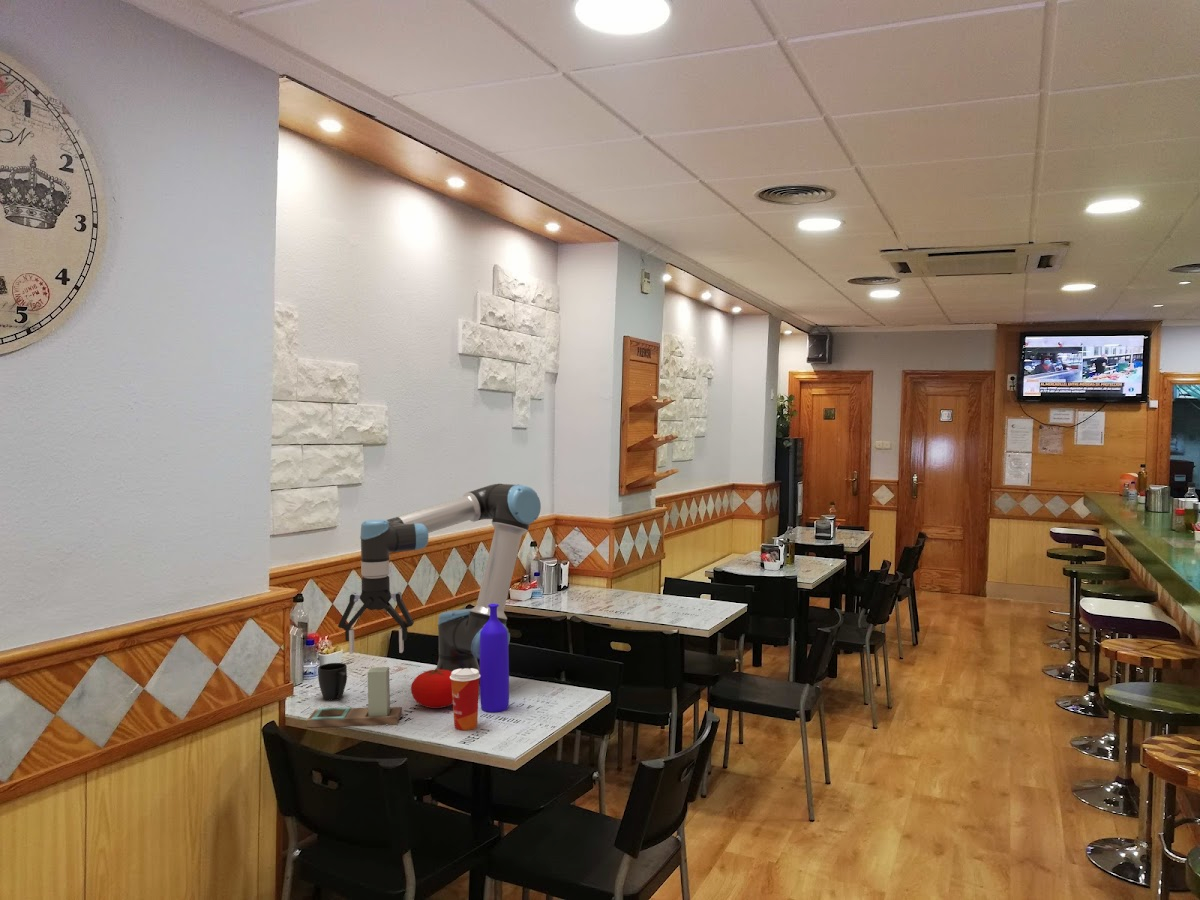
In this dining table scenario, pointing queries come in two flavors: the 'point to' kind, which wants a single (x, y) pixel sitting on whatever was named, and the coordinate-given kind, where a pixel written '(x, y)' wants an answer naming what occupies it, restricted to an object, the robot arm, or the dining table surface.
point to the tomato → (433, 688)
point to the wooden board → (351, 717)
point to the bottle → (494, 664)
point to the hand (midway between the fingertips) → (376, 652)
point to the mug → (332, 680)
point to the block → (378, 691)
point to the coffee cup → (465, 697)
